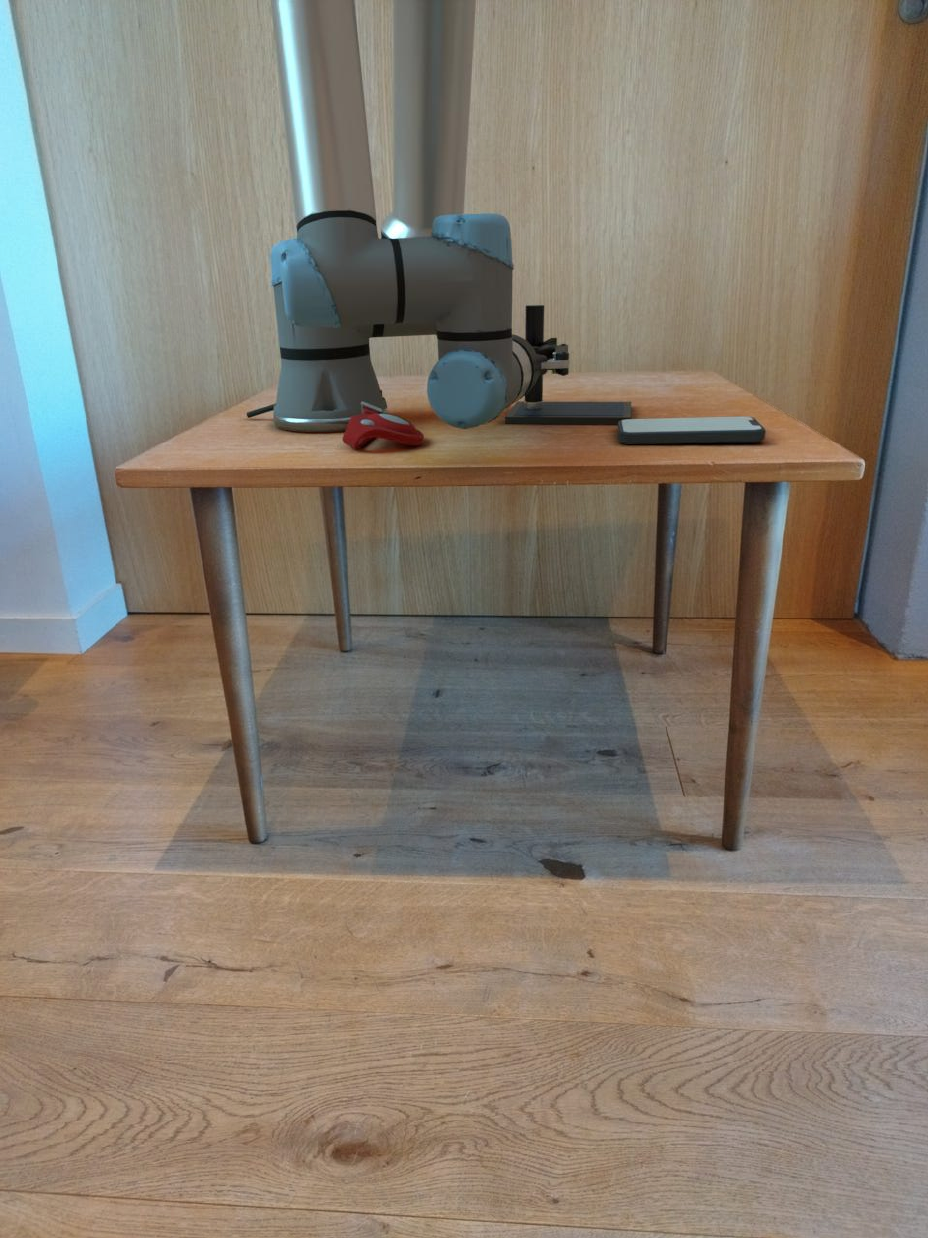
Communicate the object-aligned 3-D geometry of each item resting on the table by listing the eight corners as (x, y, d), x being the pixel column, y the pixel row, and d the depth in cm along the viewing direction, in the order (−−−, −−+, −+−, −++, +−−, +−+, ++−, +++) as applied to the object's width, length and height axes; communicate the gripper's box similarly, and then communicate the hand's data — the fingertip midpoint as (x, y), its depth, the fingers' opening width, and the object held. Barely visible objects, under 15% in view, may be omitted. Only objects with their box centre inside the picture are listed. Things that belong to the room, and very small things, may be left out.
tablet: (505, 423, 106) (505, 416, 106) (517, 407, 117) (517, 400, 116) (630, 424, 103) (631, 416, 103) (631, 408, 114) (631, 401, 113)
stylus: (521, 408, 110) (522, 305, 105) (530, 406, 112) (532, 304, 107) (536, 410, 109) (537, 305, 104) (545, 407, 111) (547, 305, 105)
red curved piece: (443, 431, 97) (383, 424, 89) (432, 467, 98) (372, 463, 90) (376, 398, 103) (314, 389, 95) (367, 432, 105) (306, 425, 97)
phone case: (619, 447, 93) (766, 444, 90) (619, 433, 92) (768, 430, 90) (617, 431, 101) (752, 429, 98) (617, 418, 100) (753, 415, 98)
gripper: (436, 404, 96) (489, 375, 116) (567, 407, 91) (598, 376, 112) (433, 336, 92) (488, 319, 113) (568, 336, 88) (600, 318, 109)
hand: (543, 348), depth 112 cm, fingers closed on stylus, 2 cm apart
